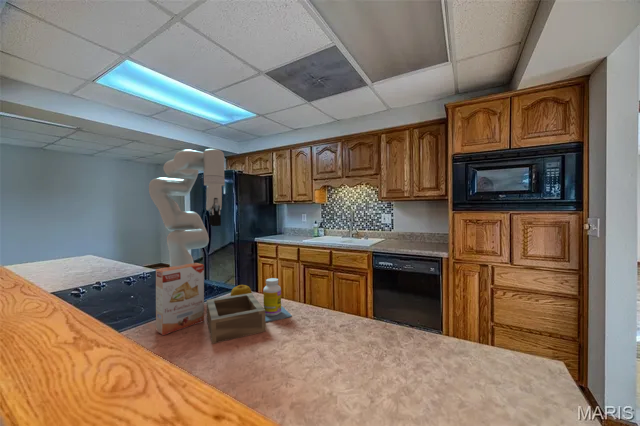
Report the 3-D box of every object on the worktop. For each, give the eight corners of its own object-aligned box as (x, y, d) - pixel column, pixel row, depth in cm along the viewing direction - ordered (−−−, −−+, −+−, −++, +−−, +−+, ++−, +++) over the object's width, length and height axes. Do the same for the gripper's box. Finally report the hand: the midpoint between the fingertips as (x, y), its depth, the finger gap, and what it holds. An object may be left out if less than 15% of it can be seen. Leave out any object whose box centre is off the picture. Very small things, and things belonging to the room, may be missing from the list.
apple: (231, 304, 111) (230, 283, 111) (251, 301, 113) (251, 281, 113) (230, 311, 103) (230, 289, 103) (252, 308, 105) (252, 287, 105)
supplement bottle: (279, 316, 96) (279, 282, 96) (261, 316, 96) (261, 282, 96) (282, 309, 102) (282, 277, 102) (265, 309, 103) (265, 277, 102)
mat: (255, 312, 101) (255, 311, 101) (282, 307, 106) (282, 306, 106) (262, 323, 92) (262, 321, 92) (291, 316, 97) (291, 315, 97)
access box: (206, 318, 96) (206, 299, 96) (251, 310, 103) (251, 293, 103) (211, 343, 78) (211, 320, 78) (265, 331, 85) (265, 310, 85)
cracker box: (163, 336, 83) (162, 271, 82) (155, 331, 86) (154, 268, 86) (205, 321, 94) (204, 263, 94) (196, 317, 97) (195, 261, 97)
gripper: (202, 183, 107) (203, 224, 107) (205, 178, 92) (206, 226, 92) (221, 184, 111) (222, 224, 111) (227, 179, 95) (228, 226, 96)
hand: (214, 225), depth 101 cm, fingers open, 9 cm apart
